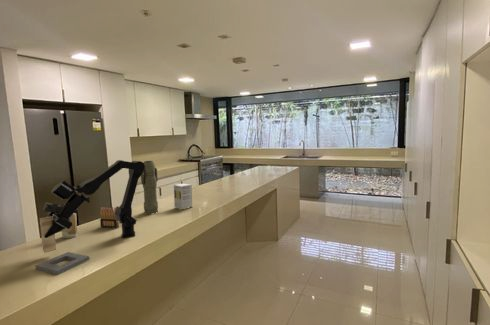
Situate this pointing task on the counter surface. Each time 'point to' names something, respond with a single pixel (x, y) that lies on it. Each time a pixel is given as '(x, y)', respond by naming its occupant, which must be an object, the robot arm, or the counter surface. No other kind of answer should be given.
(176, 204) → the supplement box
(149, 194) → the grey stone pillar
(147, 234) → the counter surface
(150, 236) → the counter surface
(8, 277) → the counter surface
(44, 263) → the socket board
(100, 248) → the counter surface
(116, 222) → the ammunition clip
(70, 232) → the skincare box
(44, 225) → the maple peg
